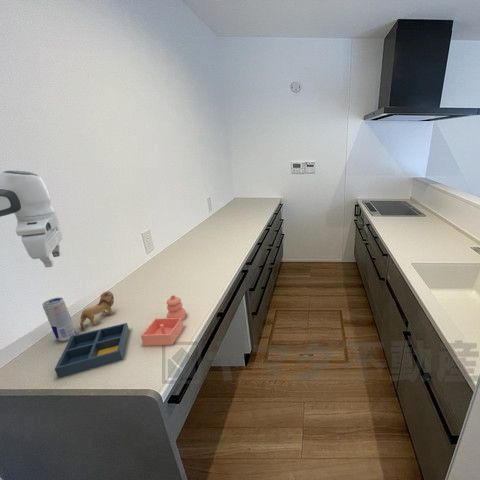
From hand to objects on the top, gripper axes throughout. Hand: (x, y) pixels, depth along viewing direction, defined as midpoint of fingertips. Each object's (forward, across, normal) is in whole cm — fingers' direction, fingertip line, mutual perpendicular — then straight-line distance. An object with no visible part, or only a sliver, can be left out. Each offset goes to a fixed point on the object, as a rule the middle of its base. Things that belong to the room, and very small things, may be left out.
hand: (53, 261), depth 90 cm
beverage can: (+26, +8, -1) cm, 27 cm away
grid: (+26, +21, +9) cm, 35 cm away
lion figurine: (+26, 0, +7) cm, 27 cm away
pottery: (+26, +20, +30) cm, 45 cm away
